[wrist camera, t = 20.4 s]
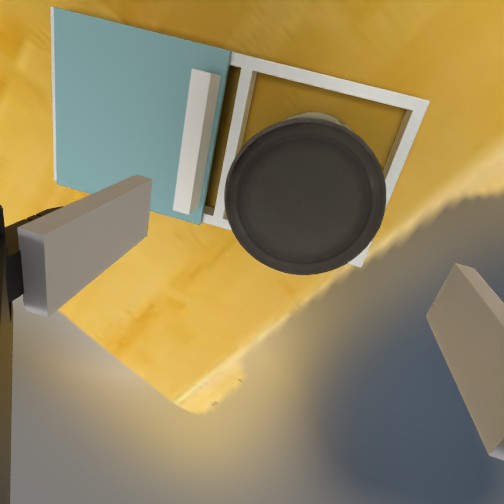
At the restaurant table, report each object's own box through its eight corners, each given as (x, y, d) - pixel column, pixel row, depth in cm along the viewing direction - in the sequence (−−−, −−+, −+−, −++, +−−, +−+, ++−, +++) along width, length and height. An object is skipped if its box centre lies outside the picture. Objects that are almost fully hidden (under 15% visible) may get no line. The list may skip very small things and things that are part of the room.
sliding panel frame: (68, 12, 34) (50, 6, 31) (422, 100, 31) (430, 100, 29) (69, 175, 40) (54, 179, 38) (358, 257, 38) (361, 267, 36)
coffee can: (385, 144, 33) (424, 173, 20) (325, 231, 38) (327, 300, 25) (290, 88, 33) (269, 83, 20) (241, 184, 37) (199, 229, 25)
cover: (58, 8, 31) (27, -2, 28) (231, 51, 30) (220, 45, 27) (60, 182, 38) (35, 190, 35) (201, 223, 37) (189, 235, 33)
